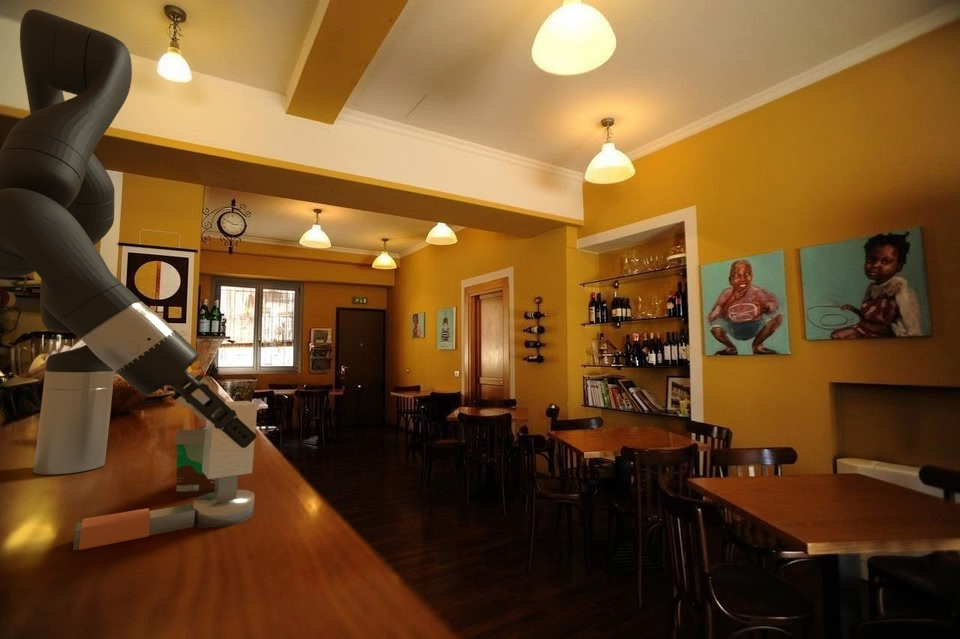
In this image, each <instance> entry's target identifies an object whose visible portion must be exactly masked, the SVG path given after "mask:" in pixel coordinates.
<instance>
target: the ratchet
mask: <svg viewBox="0 0 960 639" xmlns="http://www.w3.org/2000/svg"><path fill="white" fill-rule="evenodd" d="M238 479H239V475H235V476H228V477H220V478H216V479H215V491H214V492H212V493H208V494H205V495H199V496H198V497H197V498H195V499H194V500H193V503H188V504H183V505H178V506H172V507H171V506H170V507H165V508H160V509H155V510H150V509H149V507H148V508H142V509H136V510H135V509H134V510H129V511H124V512H119V513H118V512H117V513H112V514H105V515H99V516H94V517H87V518H83V519H82V522H81V521H80V522H77V523H76V525H75V530H74V537H73V538H74V539H73V546H72V547H73V548H72V551H76V550H79V551H80V550H86V549H90V548H95V547H101V546H106V545H111V544H115V543H116V544H117V543H120V542H126V541H132V540H136V539H141V538H146V537H149V536H154V535H159V534H163V533H169V532H173V531H179V530H184V529H189V528H194V527H199V528H203V529H204V528H205V529H206V528H209V529H210V528H212V529H213V528H223V527H229V526H233V525H236V524H240V523H243V522H245V521H247V520H249V519H250V518H252V517H253V516H254V511H255V510H254V506H255V496H256V494H255V492H253V491H250V490H247V489H238V483H239V482H238Z"/></svg>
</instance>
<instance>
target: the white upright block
mask: <svg viewBox="0 0 960 639" xmlns="http://www.w3.org/2000/svg"><path fill="white" fill-rule="evenodd" d="M225 404H226V405H227V406H228V407H229V408H230V409H232V410H234V411H235V412H236V414H237V416H238V417H237V418H238V419H239V420H241V421H242V422H243V423H244V424H245V425H246V426H247V427H248V428H249V429H250V430H251V431H253V432H254V433H255V434H256V427H257V417H258V416H257V414H258V413H257V412H258V404H257V403H255V402H253V401H252V402H251V401H250V400H236V401H226V403H225ZM225 412H226V411H225V410H223V409H222V408H219V409H218V410H216V411H215V412H214V413H213V414H212V417H213V418H214V419H215V420H216V421H217V419H218V418H219V417H221V416H222V415H223V414H224V413H225ZM205 426H206V429H205V440H204V452H203V463H202V471H203V473H204V474H205V475H206V477H207V478H208V479H213V478H220V477H228V476H235V475H238V476H241V475H248V474H253V466H254V453H255V452H254V451H255V442H256V441H255V440H253V441H252V442H251V443H250V444H249V445H248V446H247V447H246V448H242V447H240V446H239V445H238V444H237V443H236V442H235V441H233V440H232V439H231V438H230V437H229V436H228V435H227V434H225V433H224V432H223V431H221V430H220V429H219V430H218V429H216V428H215V427H214V426H215V425H214V424H213V423H212V422H210V421H209V420H205Z"/></svg>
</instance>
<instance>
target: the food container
mask: <svg viewBox="0 0 960 639" xmlns="http://www.w3.org/2000/svg"><path fill="white" fill-rule="evenodd" d="M205 429H206V425H205V426H202V427H200V428H197V429H177V434H175V438H174V442H173V444H174V445H176V482H175V483H176V485H175V487H176V488H175V497H182V498H183V497H184V498H186V497H196V496H198V497H199V496H202V495H205V494H208V493H212V492H214V491H215V479H216V478H213V479H208V478H207V477H206V475H205V474H204V473H203V471H202V463H203V452H204V440H205Z"/></svg>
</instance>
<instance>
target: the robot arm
mask: <svg viewBox="0 0 960 639" xmlns="http://www.w3.org/2000/svg"><path fill="white" fill-rule="evenodd" d="M19 30H20V31H19V47H20V48H19V49H20V57H21V64H22V70H23V76H24V77H23V78H24V83H25V90H26V94H27V101H28V107H29V113H30V114H28V115H26V116H24V117H23V118H21V119H20V120H19V121H17V122H16V123H15V125H14V126H13V127H12V128H11V129H10V130H9V132H8V134H7V136H6V138H5V140H4V143H3V144H2V146H1V149H0V278H19V277H24V276H28V275H30V274H33V273H34V272H35V273H36V274H37V276H39V278H40V300H39V302H40V305H39V306H40V316H41V321H42V325H43V326H44V327H45V328H46V329H47V330H49V331H51V332H57V333H68V334H70V333H72V334H74V335H75V336H76V337H78V339H81V341H82V342H83V343H84V344H85V345H82V346H79V347H77V348H74V349H71V350H65V351H60V352H57V353H56V352H55V353H52V354H51V355H49V356H48V357H47V359H46V362H45V368H44V369H45V373H44V379H43V387H42V388H43V390H42V397H41V406H40V413H39V414H40V415H39V421H38V422H39V423H38V429H37V430H38V431H37V440H36V447H35V455H34V462H33V463H34V464H33V473H34V474H37V475H45V476H46V475H63V474H74V473H80V472H85V471H90V470H94V469H98V468H101V467H103V466H104V465H105V464H106V453H107V446H108V445H107V444H108V439H109V438H108V437H109V436H108V435H109V427H110V418H111V411H112V410H111V409H112V399H113V398H112V397H113V390H114V380H115V373H116V374H117V375H118V376H120V377H121V378H122V379H123V380H125V382H127V383H128V384H130V386H132V387H133V388H134V389H135V390H137V391H136V392H138V393H140V394H141V395H143V396H149V395H152V394H154V393H156V392H157V391H160V390H161V389H162V388H163V387H166V386H170V387H171V388H172V391H173V392H174V393H173V394H172V395H171V396H170V398H172V399H173V400H175V402H177V403H178V404H179V405H180V406H181V407H183V408H187V409H189V411H191V412H192V414H194V415H195V416H196V417H197V418H198V419H200V421H205V422H206V420H209V421H210V422H212V423H213V424H214V425H215V426H214V427H215V428H216V429H218V430H219V429H220V430H221V431H223V432H224V433H225V434H227V435H228V436H229V437H230V438H231V439H232V440H233V441H235V442H236V443H237V444H238V445H239V446H240V447H242V448H246V447H247V446H248V445H249V444H250V443H251V442H252V441H253V440H255V439H256V438H257V434H256V432H255V433H254V432H253V431H251V430H250V429H249V428H248V427H247V426H246V425H245V424H244V423H243V422H242V421H241V420H239V419H238V418H237V417H238V416H237V414H236V412H235V411H234V410H232V409H230V408H229V407H228V406H227V405H226V404H225V403H226V402H227V401H226V399H225V398H224V397H223V396H222V395H221V394H220V393H218V391H217V390H216V389H215V388H213V387H212V384H211V382H210V381H209V380H208V379H206V378H205V377H204V376H203V375H200V374H198V375H196V376H195V377H194V376H193V375H191V373H189V371H188V368H189V367H191V366H192V365H193V364H194V363H195V362H196V361H197V360H198V359H199V357H200V354H199V351H198V350H196V348H195V347H194V346H193V345H192V344H190V342H188V341H187V340H186V339H185V338H184V337H183V336H182V335H181V334H180V333H179V332H178V331H177V330H175V328H173V326H171V325H170V324H169V323H168V322H167V321H166V320H165V319H164V318H163V317H162V316H161V315H160V314H159V313H158V312H156V311H155V310H153V309H152V308H150V307H149V306H147V305H146V304H145V303H144V302H143V301H141V300H140V298H139V297H137V296H136V295H135V294H134V292H132V291H131V289H129V288H128V287H127V286H126V285H125V284H124V283H123V282H122V281H120V280H119V279H118V278H117V277H116V276H115V275H114V274H113V273H112V272H111V270H110V269H109V267H108V265H107V264H106V262H105V260H104V258H103V257H102V255H101V254H100V252H99V249H97V247H96V245H97V244H98V243H100V241H101V240H102V239H104V237H105V236H106V235H107V234H108V233H109V231H110V230H111V229H112V227H113V225H114V222H115V191H116V190H115V185H114V184H113V180H112V179H111V175H109V173H108V171H107V170H106V169H105V167H104V166H103V164H102V162H100V160H99V158H97V156H96V155H95V153H94V150H96V147H97V146H98V144H99V142H100V141H101V139H102V137H104V134H106V132H107V131H108V129H109V128H110V126H111V125H112V124H113V122H114V120H115V118H116V117H117V115H118V113H119V112H120V111H121V109H122V107H123V106H124V104H125V103H126V100H127V98H128V96H129V93H130V90H131V85H132V78H133V77H132V76H133V65H132V58H131V55H130V54H131V53H130V51H129V49H128V47H127V46H126V45H125V43H124V42H123V41H122V40H120V39H118V38H117V37H115V36H113V35H111V34H108V33H107V32H103V31H101V30H98V29H94V28H92V27H91V26H90V27H89V26H86V25H84V24H81V23H78V22H75V21H72V20H69V19H66V18H64V17H62V16H59V15H55V14H53V13H50V12H47V11H44V10H41V9H33V8H31V9H29V10H27V11H26V12H25V13H24V14H23V16H22V18H21V21H20V27H19ZM64 92H65V93H69V94H71V95H75V96H73V97H72V98H68V99H66V100H65V97H64ZM219 408H222V409H223V410H225V411H226V412H225V413H224V414H223V415H222V416H221V417H219V418H218V419H217V421H216V420H215V419H214V418H213V417H212V414H213V413H214V412H215V411H216V410H218V409H219Z"/></svg>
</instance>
